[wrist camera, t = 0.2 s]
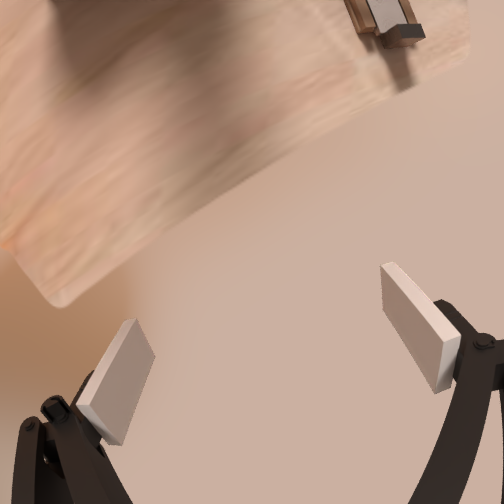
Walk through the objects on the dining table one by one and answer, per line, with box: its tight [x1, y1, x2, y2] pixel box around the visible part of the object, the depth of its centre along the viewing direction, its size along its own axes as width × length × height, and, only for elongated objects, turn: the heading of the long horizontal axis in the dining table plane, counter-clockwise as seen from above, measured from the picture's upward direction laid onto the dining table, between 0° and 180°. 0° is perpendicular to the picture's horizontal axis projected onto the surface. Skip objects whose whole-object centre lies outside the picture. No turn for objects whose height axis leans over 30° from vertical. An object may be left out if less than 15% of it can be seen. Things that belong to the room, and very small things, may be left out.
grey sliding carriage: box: [365, 0, 426, 49], centre depth 27 cm, size 12×7×6 cm, turn 17°
